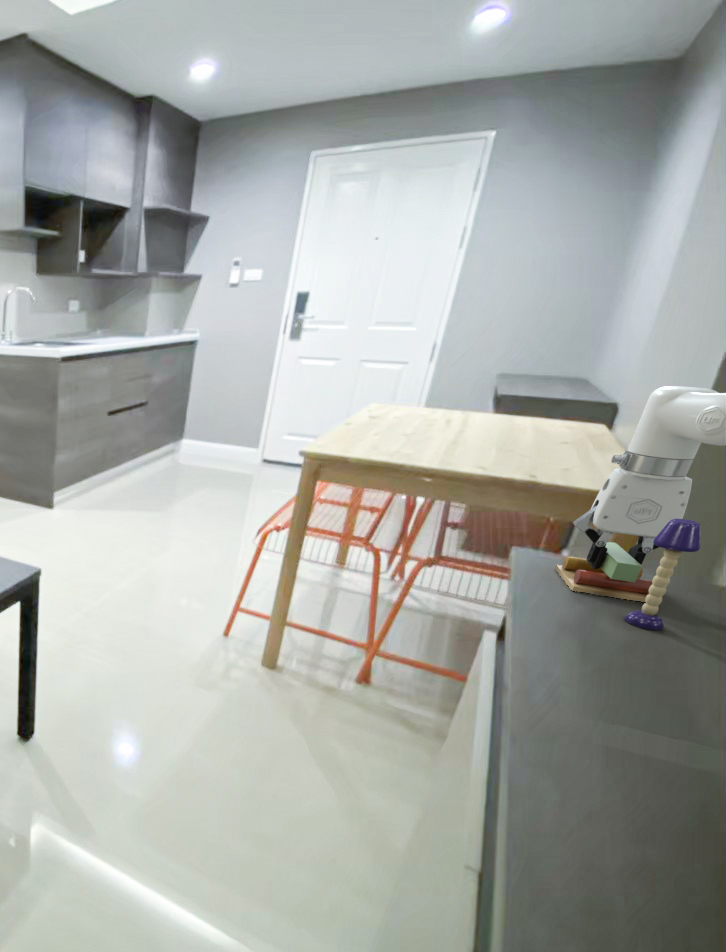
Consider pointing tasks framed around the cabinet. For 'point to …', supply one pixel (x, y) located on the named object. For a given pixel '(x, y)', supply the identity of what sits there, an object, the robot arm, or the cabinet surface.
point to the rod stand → (600, 581)
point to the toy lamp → (666, 569)
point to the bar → (620, 564)
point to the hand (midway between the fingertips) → (610, 567)
